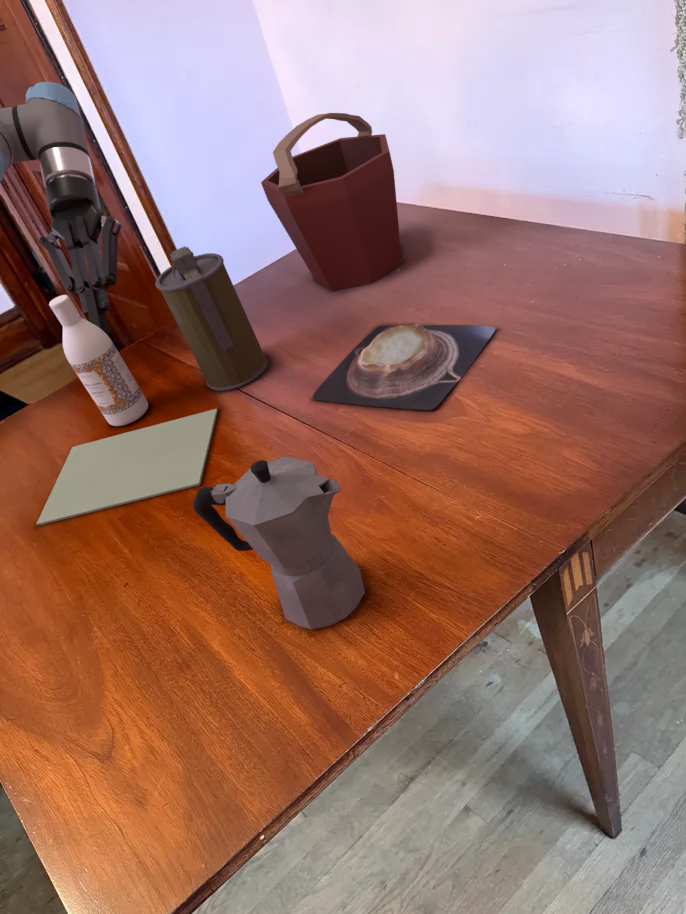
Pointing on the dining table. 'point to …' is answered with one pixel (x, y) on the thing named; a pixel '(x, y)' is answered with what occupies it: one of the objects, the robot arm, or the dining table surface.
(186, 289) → the canister
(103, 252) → the robot arm
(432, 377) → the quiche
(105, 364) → the bath foam
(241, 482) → the coffeepot
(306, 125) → the bucket
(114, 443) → the mat
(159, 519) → the dining table surface
